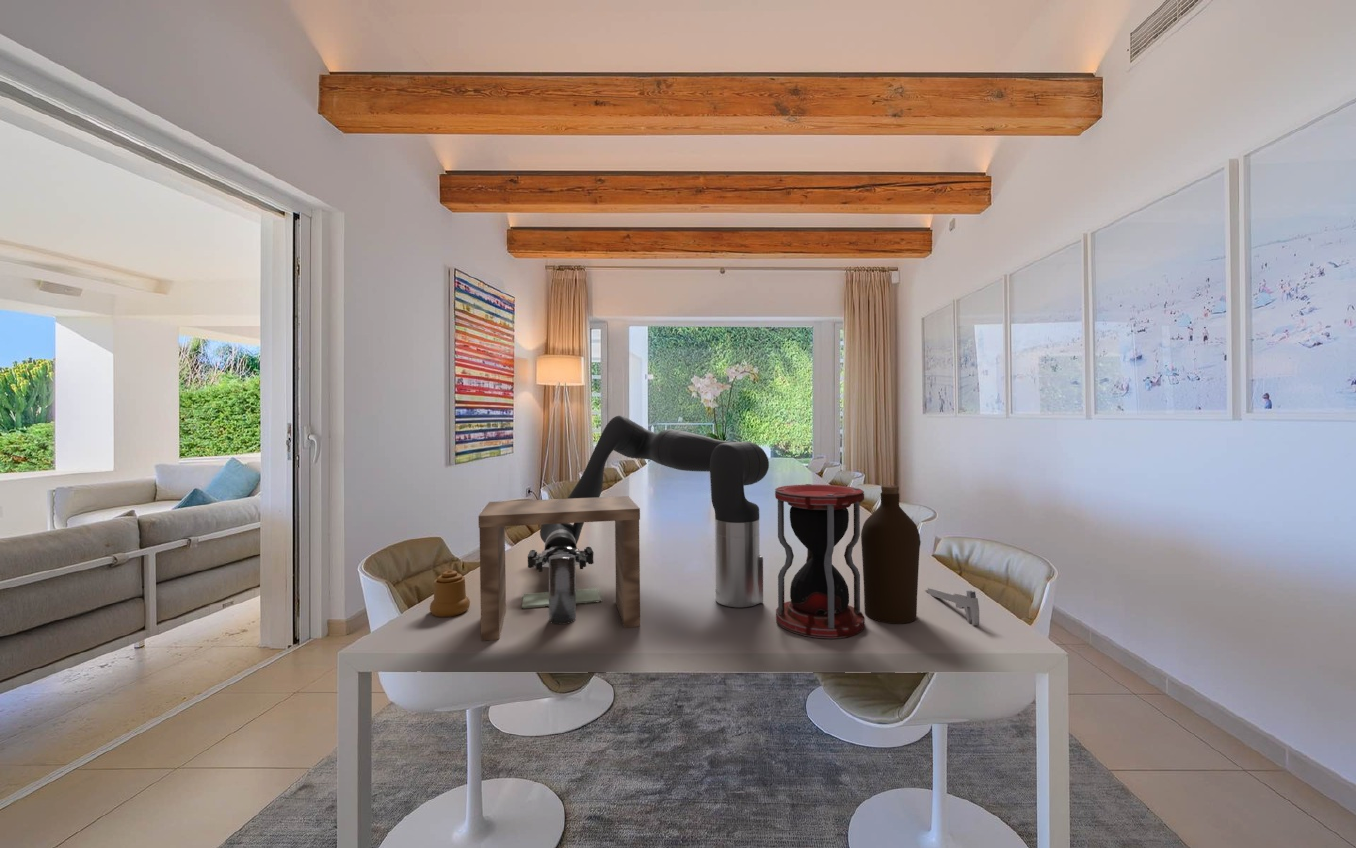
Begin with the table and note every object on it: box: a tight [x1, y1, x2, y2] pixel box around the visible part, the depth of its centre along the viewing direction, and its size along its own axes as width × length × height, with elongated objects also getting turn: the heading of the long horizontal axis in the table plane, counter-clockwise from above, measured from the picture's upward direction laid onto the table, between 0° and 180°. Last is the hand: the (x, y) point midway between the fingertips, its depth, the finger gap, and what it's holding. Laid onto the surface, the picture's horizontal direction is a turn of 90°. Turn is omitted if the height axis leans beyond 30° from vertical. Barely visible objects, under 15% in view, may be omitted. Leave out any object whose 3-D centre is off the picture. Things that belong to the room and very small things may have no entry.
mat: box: [521, 587, 602, 609], centre depth 118 cm, size 16×8×1 cm, turn 102°
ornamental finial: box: [429, 569, 471, 618], centre depth 111 cm, size 8×8×8 cm
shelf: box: [478, 495, 641, 642], centre depth 106 cm, size 28×16×22 cm, turn 102°
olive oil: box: [860, 484, 922, 625], centre depth 107 cm, size 11×11×25 cm
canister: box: [548, 554, 577, 625], centre depth 106 cm, size 5×5×12 cm
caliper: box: [924, 587, 980, 627], centre depth 111 cm, size 20×1×6 cm, turn 0°
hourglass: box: [774, 483, 866, 640], centre depth 104 cm, size 16×16×25 cm
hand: (561, 566), depth 117 cm, fingers open, 8 cm apart
